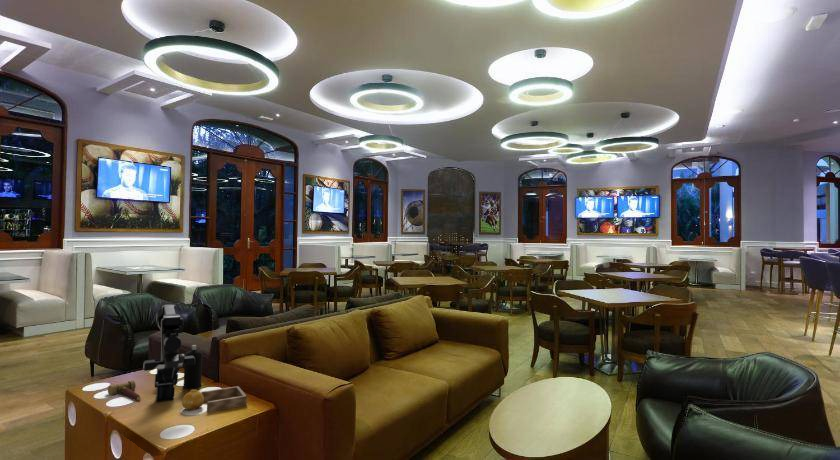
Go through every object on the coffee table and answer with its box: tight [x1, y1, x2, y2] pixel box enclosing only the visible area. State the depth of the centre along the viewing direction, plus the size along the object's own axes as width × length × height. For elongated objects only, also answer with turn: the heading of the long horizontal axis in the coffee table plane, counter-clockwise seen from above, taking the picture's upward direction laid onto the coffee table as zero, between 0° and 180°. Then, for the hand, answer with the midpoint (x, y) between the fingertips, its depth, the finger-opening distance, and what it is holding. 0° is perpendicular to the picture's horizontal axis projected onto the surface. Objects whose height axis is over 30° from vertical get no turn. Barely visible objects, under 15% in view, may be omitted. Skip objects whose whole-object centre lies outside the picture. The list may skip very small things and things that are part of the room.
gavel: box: [107, 380, 142, 402], centre depth 204 cm, size 21×5×10 cm
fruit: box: [181, 389, 205, 411], centre depth 192 cm, size 8×8×8 cm
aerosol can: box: [182, 344, 204, 390], centre depth 219 cm, size 8×8×20 cm
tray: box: [200, 385, 248, 413], centre depth 199 cm, size 16×15×4 cm
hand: (168, 383), depth 187 cm, fingers open, 2 cm apart
